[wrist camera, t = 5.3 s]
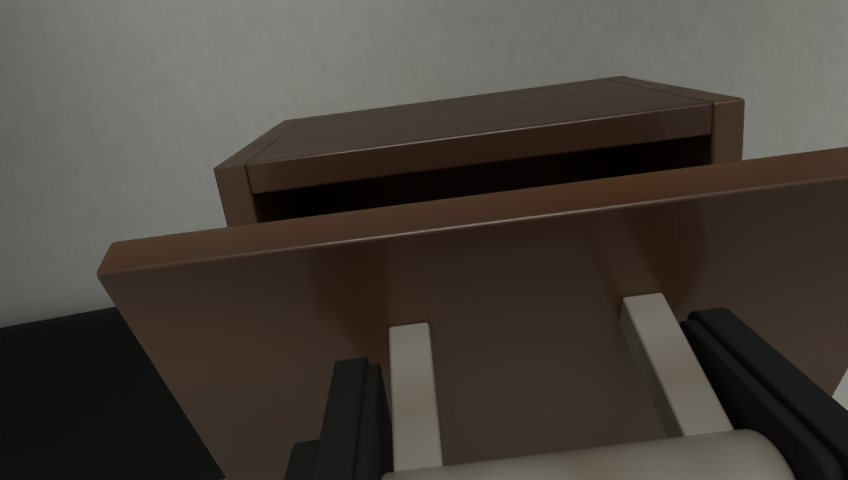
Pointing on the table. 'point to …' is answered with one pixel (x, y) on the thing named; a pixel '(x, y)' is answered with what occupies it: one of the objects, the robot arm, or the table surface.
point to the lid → (504, 321)
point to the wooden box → (477, 147)
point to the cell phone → (91, 406)
